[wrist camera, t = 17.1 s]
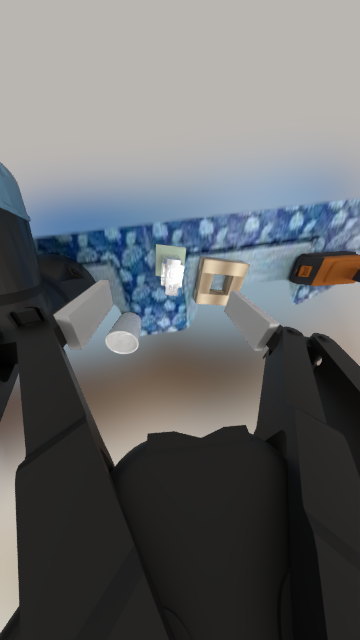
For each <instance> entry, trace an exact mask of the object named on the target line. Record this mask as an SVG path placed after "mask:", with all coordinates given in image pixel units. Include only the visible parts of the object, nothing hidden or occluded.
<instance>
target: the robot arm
mask: <svg viewBox="0 0 360 640" xmlns="http://www.w3.org/2000/svg"><path fill="white" fill-rule="evenodd" d="M29 221H30V217H29V216H28V215H27V213H26V209H25V206H24V203H23V200H22V196H21V193H20V190H19V186H18V184H17V182H16V180H15V178H14V177H13V176H12V174H11V173H10V171H9V170H8V169H7V168H6V167H5V166H3V164H2V163H0V421H1V418H2V416H3V413H4V410H5V408H6V405H7V402H8V400H9V397H10V395H11V392H12V389H13V387H14V384H15V381H16V378H17V376H18V373H19V377H20V388H21V401H22V411H23V423H24V434H25V446H26V457H25V460H24V461H23V462H22V463H21V464H20V465H19V466H18V468H17V471H16V478H15V497H16V522H17V548H18V549H17V550H18V576H19V577H18V578H19V607H18V608H17V610H16V611H15V613H14V614H13V616H12V617H11V618H10V620H9V621H8V623H7V624H6V626H5V627H4V629H3V630H2V632H1V633H0V640H360V366H359V365H358V364H357V363H356V362H355V361H354V360H353V359H352V358H351V357H350V356H349V355H348V354H347V353H346V352H345V351H344V350H343V349H342V348H341V347H340V346H339V345H338V344H337V343H336V342H335V341H334V340H332V339H331V338H329V337H328V336H326V335H324V334H319V333H313V334H312V336H311V337H310V338H309V337H304V336H303V334H302V333H301V332H299V331H298V330H296V329H294V328H291V327H282V326H281V325H280V324H279V323H278V322H276V321H275V320H274V319H273V318H271V317H270V316H269V315H268V314H266V313H265V312H264V311H263V310H261V309H260V308H259V307H258V306H256V305H255V304H254V303H252V302H251V301H250V300H249V299H247V298H246V297H245V296H244V295H242V294H241V293H240V292H239V291H235V290H231V293H230V296H229V298H228V301H227V304H226V307H225V310H224V311H225V313H226V314H227V315H228V317H229V318H230V319H231V320H232V322H233V323H234V325H235V326H236V327H237V329H238V330H239V331H240V332H241V334H242V335H243V336H244V338H245V339H246V340H247V342H248V343H249V344H250V345H251V347H252V348H253V349H254V350H256V351H257V350H258V351H261V350H263V349H264V347H265V346H266V345H267V346H268V348H269V349H268V351H267V352H266V353H265V355H264V356H263V359H264V358H265V357H266V361H265V368H264V375H263V383H262V390H261V398H260V405H259V413H258V421H257V427H256V430H255V432H254V434H250V433H249V432H248V429H247V427H246V425H241V426H230V427H223V428H221V429H219V430H217V431H215V432H213V433H211V434H209V435H207V436H205V437H202V438H198V437H195V436H190V435H186V434H182V433H178V432H174V431H173V432H162V433H151V434H148V436H147V441H145V442H143V443H141V444H139V445H138V446H136V447H134V448H133V449H132V450H131V451H129V452H128V453H127V454H126V455H125V456H124V457H123V458H122V459H121V460H120V461H119V462H118V464H117V465H116V466H114V463H113V461H112V459H111V456H110V454H109V452H108V450H107V448H106V446H105V444H104V442H103V439H102V437H101V435H100V433H99V430H98V428H97V425H96V423H95V421H94V418H93V416H92V414H91V411H90V409H89V407H88V404H87V402H86V400H85V397H84V395H83V393H82V390H81V388H80V386H79V383H78V381H77V378H76V376H75V374H74V371H73V369H72V367H71V364H70V362H69V360H68V357H67V355H66V353H65V350H64V349H63V347H64V346H65V345H66V344H68V346H69V348H70V349H81V350H82V349H83V348H84V346H85V345H86V344H87V342H88V341H89V339H90V338H91V336H92V335H93V334H94V332H95V331H96V329H97V328H98V326H99V325H100V324H101V322H102V321H103V319H104V318H105V316H106V315H107V313H108V312H109V311H110V309H111V308H112V306H113V301H112V295H111V290H110V284H109V280H99V281H98V282H97V283H95V281H94V279H93V277H92V276H91V275H90V274H89V272H88V271H87V270H86V269H85V268H84V267H82V266H81V265H80V264H78V263H77V262H75V261H74V260H72V259H70V258H67V257H65V256H62V255H57V254H43V255H38V256H37V254H36V250H35V246H34V242H33V238H32V234H31V229H30V225H29ZM321 358H322V362H321V364H320V365H319V366H318V365H317V364H316V363H317V362H318V361H319V360H320V359H321Z"/></svg>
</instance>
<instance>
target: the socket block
mask: <svg viewBox="0 0 360 640" xmlns="http://www.w3.org/2000/svg"><path fill="white" fill-rule="evenodd" d="M249 265H250V264H247V263H244V262H242V261H234V260H225V259H217V258H208V257H201V258H200V264H199V269H198V275H197V280H196V285H195V291H194V296H193V298H194V300H195V303H196V304H212V305H226V304H227V301H228V298H229V296H230V293H231V290H235V291H240V289H241V286H242V283H243V281H244V278H245V276H246V273H247V270H248V268H249ZM214 274H221V275H227V276H226V279H225V282H224V285H223V289H222V290H213V289H210V287H211V283H212V279H213V275H214Z"/></svg>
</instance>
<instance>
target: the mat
mask: <svg viewBox="0 0 360 640" xmlns="http://www.w3.org/2000/svg"><path fill="white" fill-rule="evenodd" d="M163 254H170V255H178V256H179V258H180V260H181V261H182V263H183V265H184V262H185V254H186V248H184V247H176V246H168V245H160V244H156V276H161V273H162V258H163Z"/></svg>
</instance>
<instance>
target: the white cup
mask: <svg viewBox="0 0 360 640" xmlns="http://www.w3.org/2000/svg"><path fill="white" fill-rule="evenodd" d="M141 325H142V321H141V318H140V317H139V316H138V315H137V314H135V313H131V312H127V313H124V314H122V315H121V316H120V318H119V319H118V320H117V321H116V323H115V324H114V326H113V327H112V329H111V330H110V332H109V333H108V335H107V337H106V339H105V343H106V345H107V347H108V348H109V349H110V350H112V351H113V352H116V353H119V354H129V353H132V352H134V351H135V350H136V349H137V348H138V344H139V338H140V333H141Z"/></svg>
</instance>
